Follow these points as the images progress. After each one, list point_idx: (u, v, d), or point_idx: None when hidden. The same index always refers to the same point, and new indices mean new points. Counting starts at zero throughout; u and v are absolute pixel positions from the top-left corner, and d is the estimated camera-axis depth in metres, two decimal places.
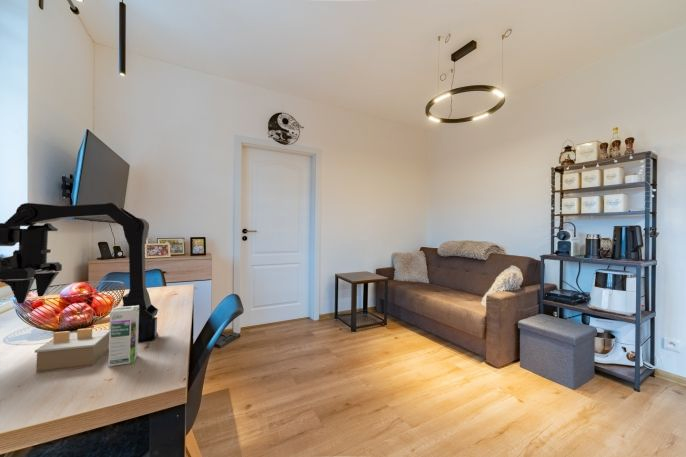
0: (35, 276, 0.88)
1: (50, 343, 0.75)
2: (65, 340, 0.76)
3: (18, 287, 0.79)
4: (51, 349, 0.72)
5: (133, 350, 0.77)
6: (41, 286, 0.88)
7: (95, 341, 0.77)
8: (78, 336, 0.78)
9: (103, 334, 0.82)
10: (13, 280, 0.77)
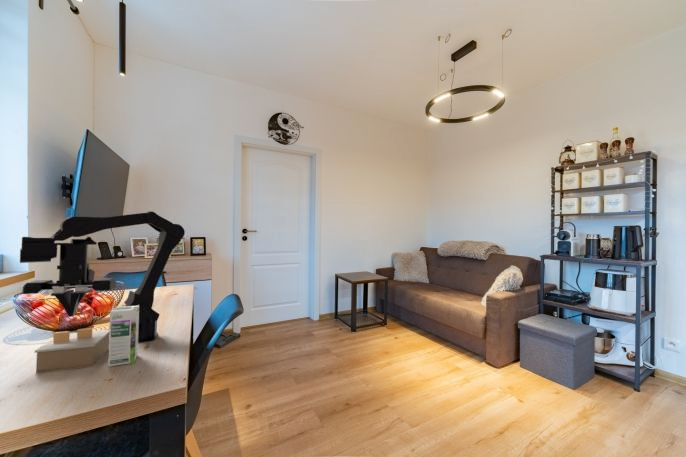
0: None
1: (50, 343, 0.75)
2: (65, 340, 0.76)
3: None
4: (51, 349, 0.72)
5: (133, 350, 0.77)
6: None
7: (95, 341, 0.77)
8: (78, 336, 0.78)
9: (103, 334, 0.82)
10: None
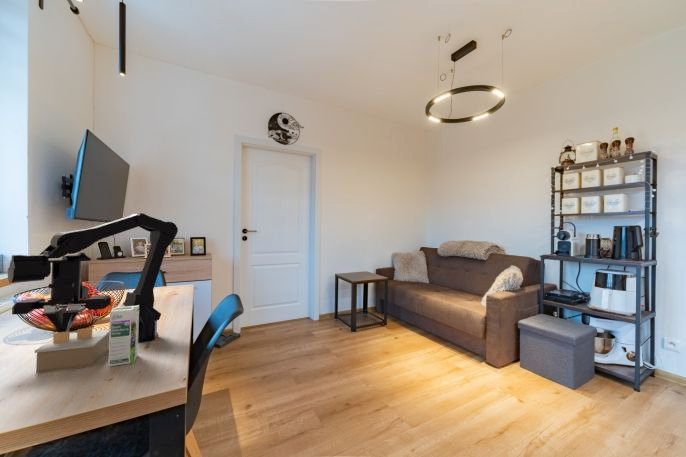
0: None
1: (49, 343, 0.75)
2: (65, 340, 0.76)
3: None
4: (51, 349, 0.72)
5: (133, 350, 0.77)
6: None
7: (95, 341, 0.77)
8: (78, 336, 0.78)
9: (103, 334, 0.82)
10: None
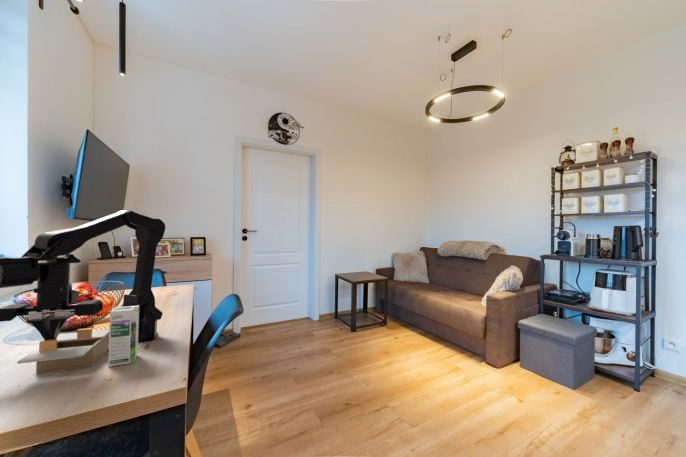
0: None
1: (35, 353, 0.69)
2: (52, 349, 0.71)
3: None
4: (36, 359, 0.66)
5: (133, 350, 0.77)
6: None
7: (84, 350, 0.71)
8: (78, 336, 0.78)
9: (103, 334, 0.82)
10: None
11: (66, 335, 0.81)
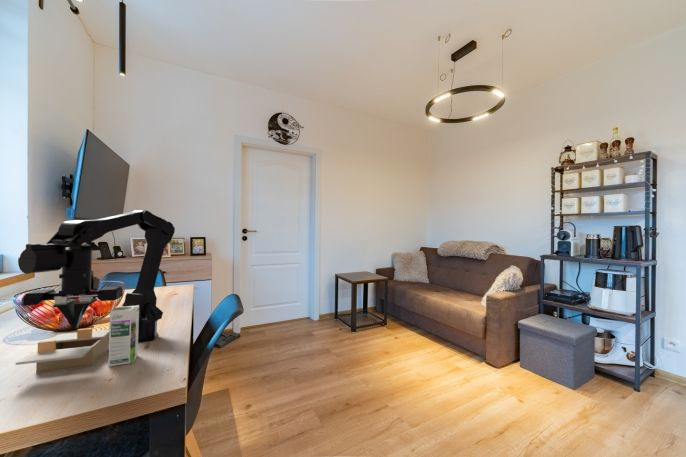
0: None
1: (33, 354, 0.68)
2: (51, 350, 0.70)
3: None
4: (34, 361, 0.65)
5: (133, 350, 0.77)
6: None
7: (83, 351, 0.70)
8: (78, 336, 0.78)
9: (103, 334, 0.82)
10: None
11: (66, 335, 0.81)
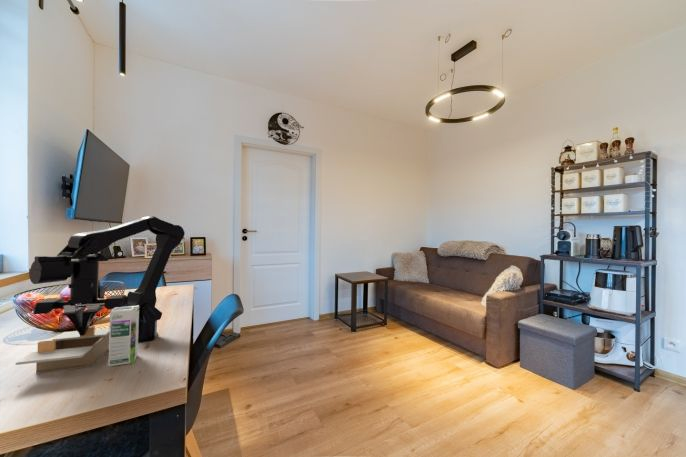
0: None
1: (33, 354, 0.68)
2: (51, 350, 0.70)
3: None
4: (34, 361, 0.65)
5: (133, 350, 0.77)
6: None
7: (83, 351, 0.70)
8: None
9: (105, 332, 0.83)
10: None
11: (69, 333, 0.82)
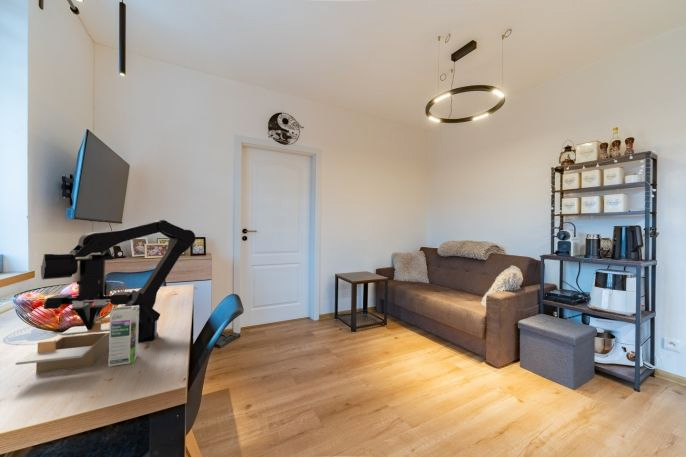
0: None
1: (33, 354, 0.68)
2: (51, 350, 0.70)
3: None
4: (34, 361, 0.65)
5: (133, 350, 0.77)
6: None
7: (83, 351, 0.70)
8: None
9: None
10: None
11: (77, 328, 0.86)
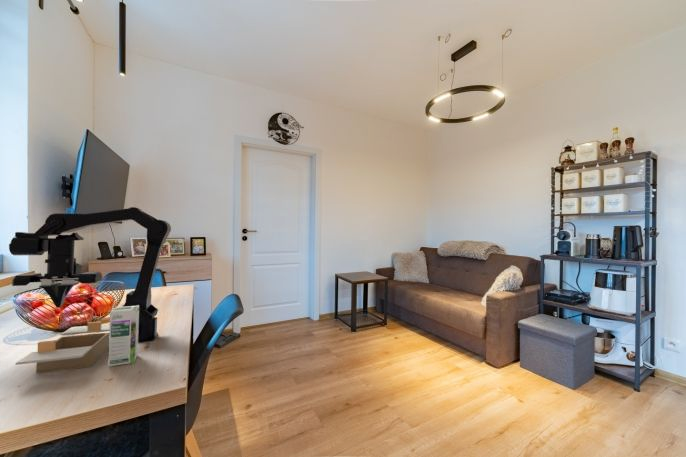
0: None
1: (33, 354, 0.68)
2: (51, 350, 0.70)
3: None
4: (34, 361, 0.65)
5: (133, 350, 0.77)
6: None
7: (83, 351, 0.70)
8: (88, 329, 0.84)
9: None
10: None
11: (77, 328, 0.87)
